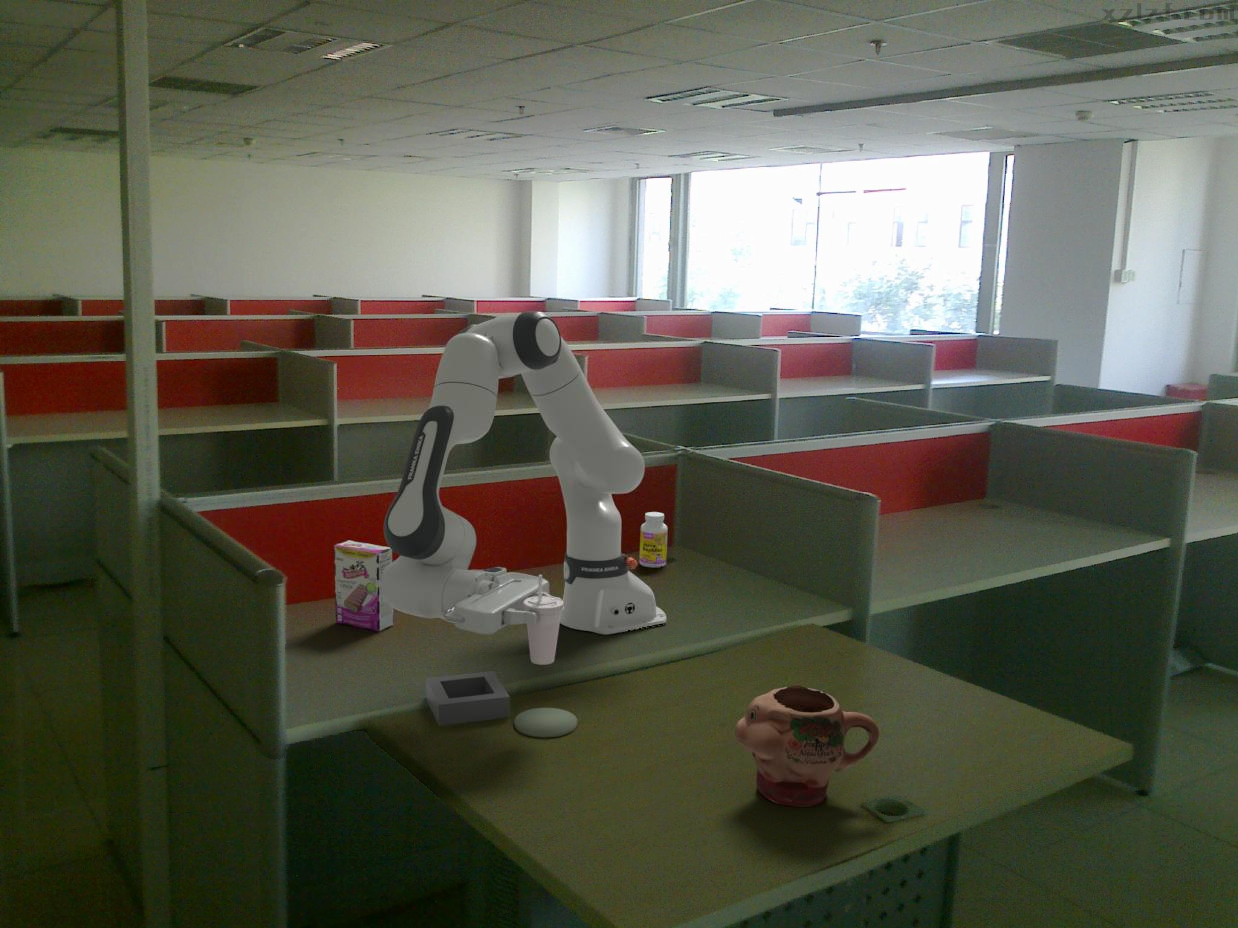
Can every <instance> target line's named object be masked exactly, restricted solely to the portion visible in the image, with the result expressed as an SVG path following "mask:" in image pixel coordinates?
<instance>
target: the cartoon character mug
mask: <svg viewBox="0 0 1238 928" xmlns="http://www.w3.org/2000/svg"><path fill="white" fill-rule="evenodd" d="M853 728H860V729H861V728H862V729H864V730H865V732H866V733H867V735H868V741H867V743H866V744H865V745H864V746H863V747H862V748H860V750H859V751H857V752H854V753H852V752H848V751H847V750H846V748H845V739H846V735H847V733H848V732H849V731H850V730H851V729H853ZM734 736H735V739H736V741H737V742H738V743H739V744H740V745H741V746H743V747H744V748H745V749H746V750H748V751H749V752H750V753H751V754H752V757H753V759H754V761H755V763H756V766H757V767H756V780H755V781H756V782H755V783H756V787H757V790H758V791H759V793H760V794H761V795H762V796H763V797H765V798H766V799H767V800H770V801H771V802H773V803H775V804H779V805H783V806H784V805H785V806H790V807H797V808H798V807H812V806H815V805H818V804H821V803H822V802H823V801H824V799H825V798H826V796H827V793H828V786H829V781H830V775H831V774H832V772H833V771H835V772H837V773H840V772H842V771H844V770H846V769H848V768H851V767H852V766H854V765H856V764H858V763H859V762H860V761H861V760H864V758H866V757H867V755H868V754H869V753H870V752H871V751H872V750H873V749H874V747H875V746H876V745H877V744H878V741H879V737H880V730H879V727H878V726H877V723H876V721H874V719H873V718H872V717H870V716H869V715H867V714H865V713H860V712H856V711H848V712H847V711H844V710H843V709H842V708H841V705H840V703H839V702H838V701H837V699H836V698H834V697H833V696H832V695H830V694H828V693H826V692H824V691H821V690H819V689H814V688H811V687H804V686H803V685H791V686H790V685H789V686H785V687H780V688H774V689H772V690H770V691H768V693H764V694H760V695H759V696H756V697H754V698H753V699H752V701H751V702H750V703H749V705H748V706H747V708H746V713H745V715H744V716H743V717H742V718H741V719H739V720H738V721H737V723H736V724H735V727H734Z"/></svg>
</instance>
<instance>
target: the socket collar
mask: <svg viewBox="0 0 1238 928" xmlns="http://www.w3.org/2000/svg"><path fill="white" fill-rule="evenodd" d="M510 698H511V697H510V695H509V693H508V691H507V690H506V689H505V687H504V686H503V684H502V683H501V681H500V680H499V678H498V676H497V675H496V673H495V671H493V670H492V671H481V672H473V673H472V672H470V673H462V674H456V675H455V674H454V675H453V674H452V675H443V676H434V677H426V678H425V699H426V701H427V703H428V705H429V707H430V709H431V712H432V714H433V716H434V718H435V721H436V724H437V725H438V726H439V727H441V726H448V725H455V724H464V723H472V722H479V721H480V722H482V721H486V720H487V721H489V720H495V719H496V720H497V719H505V718H510V716H511V715H510V714H511V713H510V712H511V710H510V709H511V708H510V706H511V705H510V704H511V702H510V701H511V699H510Z"/></svg>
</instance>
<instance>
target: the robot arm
mask: <svg viewBox="0 0 1238 928" xmlns="http://www.w3.org/2000/svg"><path fill="white" fill-rule="evenodd" d="M518 375H521V377H522V379H523V382H524V384H525V387H526V388H527V391H528V392H529V395H530V396H531V398H532V400H533V403H534V405H535V406H536V408H537V410H538V412H539V414H540V416H541V418H542V420H543V421H544V423H545V425H546V427H547V428H548V429H549V430H550V431H551V432H552V433H553V434H554V435H555V436H556V437H555V438H554V440H553V441H552V444H551V445H550V448H549V461H550V464H551V466H552V467H553V470H554V471H555V473H556V476H557V478H558V481H559V485H560V488H561V495H562V498H563V503H564V507H565V513H566V514H565V515H566V552H565V553H564V561H563V579H564V588H563V589H564V591H563V597H562V598H561V597H557V596H555V597H556V598H559V599H561V600H562V601H563V602H564V604H563V606H564V609H563V610H562V611H561V618H560V624H561V625H563V626H564V627H567V628H570V629H574V630H580V631H587V632H592V633H595V634H599V635H613V634H617V633H618V634H619V633H623V632H628V630H630V631H633V630H634V629H635V630H639V628H641V629H643V628H642V627H646V628H648V627H647V626H652V625H655V624H661V623H665V622H666V623H667V621H666V620H667V615H666V612H664V610H662V609H661V608H659V607H658V606H657V605H656V597H655V594H654V592H653V590H652V589H651V587H650V586H649V585H647V584H646V583H645V582H644V581H643V580H642V579H640V578H639V577H638V576H636V575H635V574H634V573H633V572H631V571H630V570H629V569H631V570H634V569H636V567H637V566H638V561H637V559H634V558H633V557H632V556H630V557H629V556H627V555H626V554H625V553H622V549H621V548H622V516H621V514H620V511H619V510H618V509H617V508H618V507H616V505H615V502H614V499H613V496H612V494H613V495H621V494H628V493H631V492H632V491H634V490H636V488H637V487H638V486H639V485H640V484H641V482H642V480H643V478H644V476H645V469H646V468H645V467H646V466H645V459H644V457H643V455H642V453H641V452H640V451H639V450H638V449H637V448H636V447H635V446H634V445H632V444H631V442H629V441H628V439H626V437H625V436H624V435H623V434H622V432H621V431H620V429H619V428H618V427H617V425H616V424H615V423H614V421H613V420H612V419H611V417H610V416H609V415H608V414H607V412H606V411H605V410H604V409H603V407H602V405H601V404H600V402H599V401H598V400H597V397H596V396H595V394H594V392H593V390H592V388H591V386H590V383H589V382H588V379H587V377H586V376H585V374H584V372H583V369H582V368H581V366H580V364H579V362H578V360H577V358H576V357H575V354H574V353H573V352H572V350H571V348H570V347H569V345H568V344H567V342H566V341H565V340H564V339H563V336H562V335H561V331H560V329H559V327H558V325H557V323H556V322H555V321H554V320H553V318H552V317H550V316H549V315H548V314H546V313H545V312H543V311H539V310H538V311H536V310H526V311H523V312H521V313H513V314H505V315H500V316H496V317H494V318H493V319H488V320H486V321H483V322H481V323H479V324H470V325H469V326H467V327H465V328H463V329H461V330H460V331H459V332H458V333H457V334H456V335H454V336H453V337H451V338H450V339H449V340H448V341H447V343H446V345H445V347H444V350H443V353H442V355H441V357H440V361H439V364H438V368H437V372H436V375H435V380H434V386H433V390H432V391H433V392H432V396H431V400H430V403H429V407H428V409H426V411H425V412H424V413H423V414H422V416H421V418H420V419H419V422H418V424H417V427H416V429H415V433H414V434H413V435H414V436H413V439H412V442H411V447H410V449H409V453H408V457H407V460H406V464H405V467H404V471H403V474H402V478H401V482H400V485H399V487H398V490H397V492H396V495H395V496H394V498H393V500H392V502H391V504H390V505H389V508H388V509H387V512H386V514H385V517H384V519H383V520H384V522H383V537H384V539H385V542H386V544H387V545H388V546H387V547H390V548H391V550H393V553H395V554H396V555H399V556H398V558H396V559H395V560H393V562H392V563H390V564H389V565H387V566H386V568H385V569H384V572H383V575H382V580H381V587H382V593H383V596H384V598H385V600H386V602H387V603H388V604H389V605H390V606H391V607H393V610H394V609H395V610H396V611H399V612H401V613H403V614H407V615H411V616H416V617H420V618H425V619H437V618H439V619H442V620H444V621H446V622H449V623H452V624H454V626H455V627H456V628H458V629H461V630H463V631H466V632H470V633H474V634H478V635H484V636H485V635H493V634H495V633H497V632H498V631H500V630H501V629H503V628H505V627H507V626H508V625H510V626H512V625H523V624H526V625H527V624H531V625H534V624H535V623H537V622H538V621H539V612H538V611H533V610H528V611H525V610H524V609H523V605H524V603H523V602H524V600H525V599H527V598H530V597H535V596H538V586H539V576H537V575H536V576H535V575H531V574H526V573H522V572H521V573H520V572H515V571H514V572H513V571H512V572H511V571H509V572H507V568H506V567H501V566H495V567H490V568H486V569H469V568H470V565H471V564H472V560H473V558H474V555H475V552H476V549H477V545H478V543H477V542H478V541H477V540H478V538H477V532H476V529H475V527H474V526H473V524H472V523H471V522H470V521H469V520H468V519H467V518H464V517H463V516H461V515H460V514H457V513H456V512H454V511H452V510H450V509H449V508H446V507H444V506H443V505H442V504H443V503H442V501H441V498H440V488H441V485H442V484H441V483H442V480H443V478H444V477H443V476H444V473H445V469H446V466H447V461H448V458H449V454H450V451H451V450H452V449H453V448H454V447H455V446H456V445H463V444H464V445H465V444H470V443H473V442H476V441H478V440H481V439H482V438H483V437H484V436H485V435H486V434H487V433H488V432H490V429H491V427H492V424H493V422H494V418H495V413H496V408H497V400H498V392H499V379H506V378H508V379H509V378H513V377H515V376H518ZM542 596H552V597H554V596H553V595H551V594H550V583H549V581H548V580H547V579H546V578H543V577H542ZM666 623H665V624H666ZM652 627H653V626H652Z"/></svg>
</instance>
